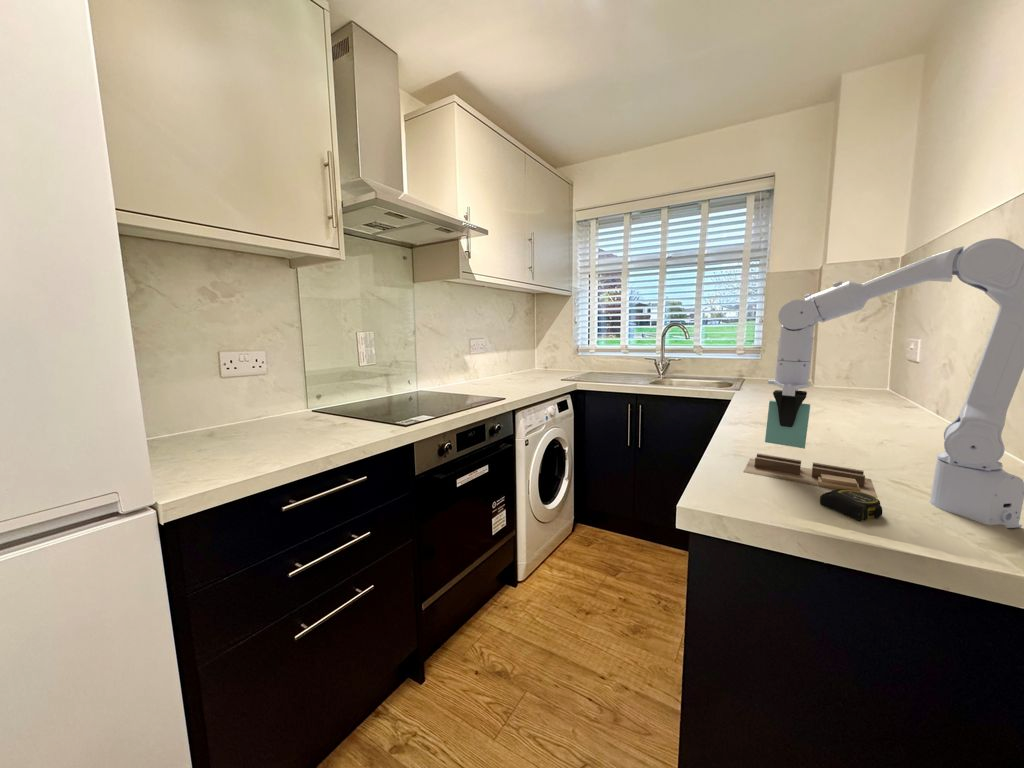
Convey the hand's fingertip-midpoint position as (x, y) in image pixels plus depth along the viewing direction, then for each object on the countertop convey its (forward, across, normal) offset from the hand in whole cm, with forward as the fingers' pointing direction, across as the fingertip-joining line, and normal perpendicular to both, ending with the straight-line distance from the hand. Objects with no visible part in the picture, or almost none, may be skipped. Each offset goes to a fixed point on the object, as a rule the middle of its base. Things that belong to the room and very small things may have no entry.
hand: (786, 425), depth 86 cm
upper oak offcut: (+9, +5, +9) cm, 14 cm away
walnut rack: (+10, +2, +4) cm, 11 cm away
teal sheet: (+4, 0, 0) cm, 4 cm away
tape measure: (+11, +17, +11) cm, 23 cm away
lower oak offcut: (+10, +5, +9) cm, 14 cm away
